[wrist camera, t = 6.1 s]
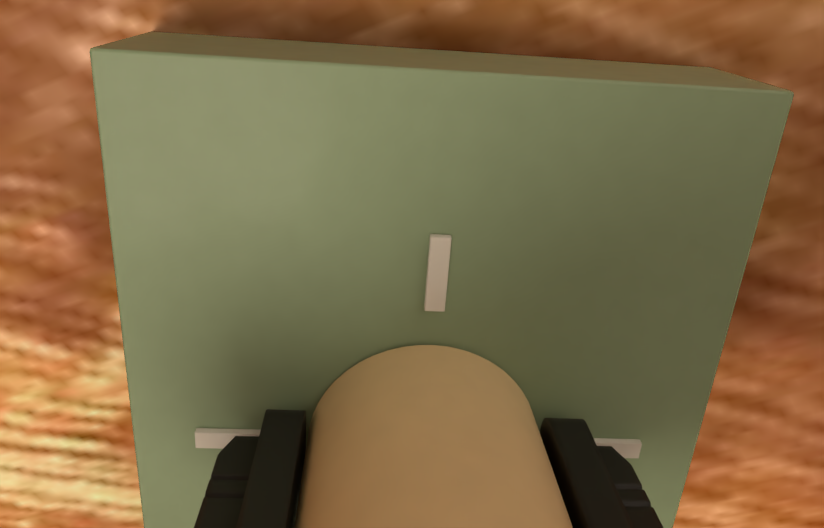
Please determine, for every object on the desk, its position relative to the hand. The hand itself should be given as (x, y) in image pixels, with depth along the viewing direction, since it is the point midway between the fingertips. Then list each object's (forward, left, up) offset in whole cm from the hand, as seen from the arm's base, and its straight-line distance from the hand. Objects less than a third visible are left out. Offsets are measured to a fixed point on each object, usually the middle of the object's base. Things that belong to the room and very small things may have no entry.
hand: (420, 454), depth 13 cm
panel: (0, 0, -3) cm, 3 cm away
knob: (0, 0, 0) cm, 0 cm away
